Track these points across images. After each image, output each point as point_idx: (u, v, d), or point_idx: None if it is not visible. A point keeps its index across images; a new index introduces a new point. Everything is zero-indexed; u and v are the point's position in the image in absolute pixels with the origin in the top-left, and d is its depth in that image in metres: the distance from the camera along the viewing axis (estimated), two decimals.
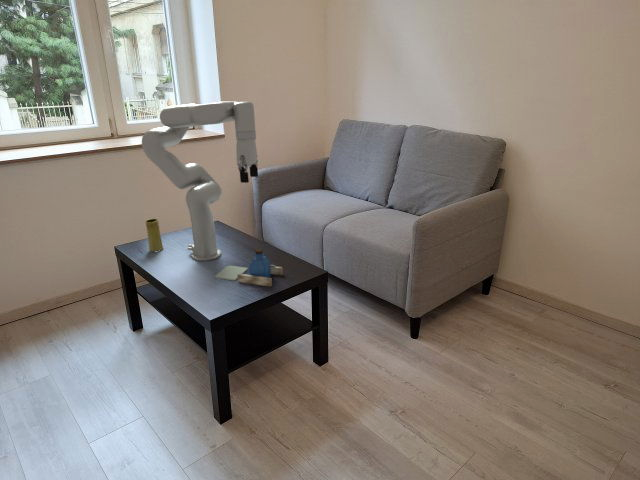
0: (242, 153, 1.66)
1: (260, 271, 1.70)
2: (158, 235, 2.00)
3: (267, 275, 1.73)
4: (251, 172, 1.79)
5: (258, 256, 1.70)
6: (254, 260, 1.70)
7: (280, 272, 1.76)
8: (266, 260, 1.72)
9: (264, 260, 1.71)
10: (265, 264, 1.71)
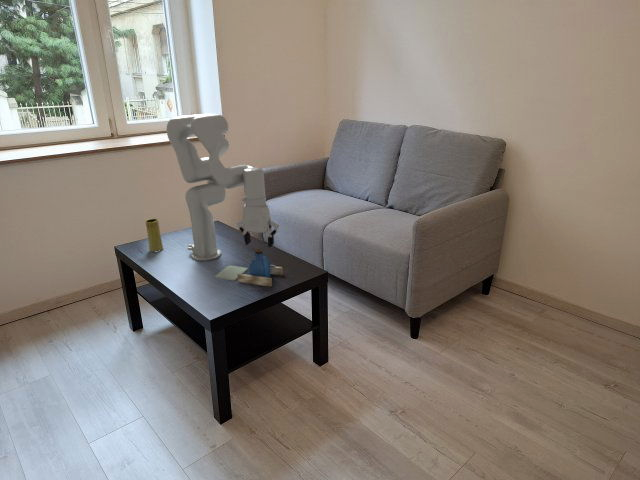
0: (269, 217, 1.64)
1: (260, 271, 1.70)
2: (158, 235, 2.00)
3: (267, 275, 1.73)
4: (247, 240, 1.69)
5: (258, 256, 1.70)
6: (254, 260, 1.70)
7: (280, 272, 1.76)
8: (266, 260, 1.72)
9: (264, 260, 1.71)
10: (265, 264, 1.71)
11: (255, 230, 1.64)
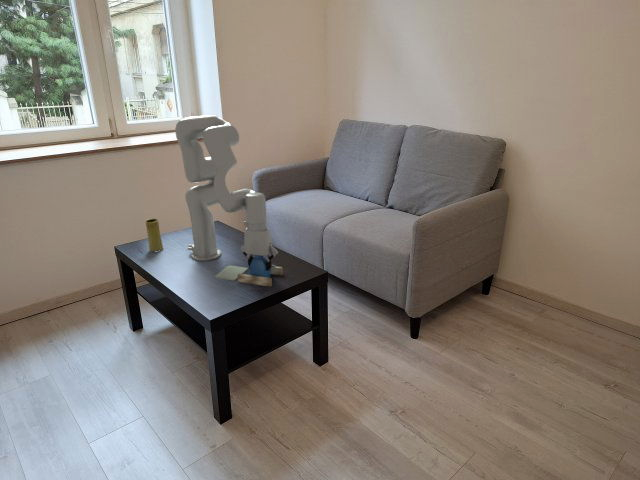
0: (270, 242, 1.68)
1: (260, 271, 1.70)
2: (158, 235, 2.00)
3: (267, 275, 1.73)
4: None
5: (258, 256, 1.70)
6: (254, 260, 1.70)
7: (280, 272, 1.76)
8: (266, 260, 1.72)
9: (264, 260, 1.71)
10: (265, 264, 1.71)
11: (256, 253, 1.68)
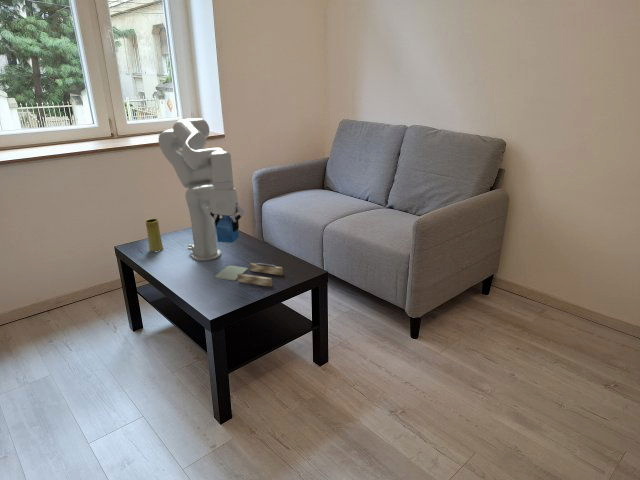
0: (237, 202, 1.66)
1: (227, 232, 1.69)
2: (158, 235, 2.00)
3: (234, 236, 1.72)
4: None
5: (225, 216, 1.68)
6: (221, 220, 1.69)
7: (280, 272, 1.76)
8: None
9: (231, 221, 1.69)
10: None
11: (222, 213, 1.67)
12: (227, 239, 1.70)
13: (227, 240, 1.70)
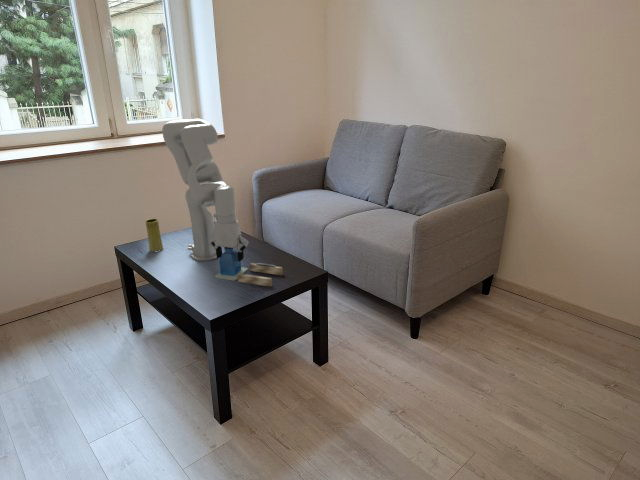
0: (239, 233, 1.71)
1: (229, 265, 1.74)
2: (158, 235, 2.00)
3: (237, 269, 1.77)
4: (219, 254, 1.76)
5: (227, 250, 1.74)
6: (223, 254, 1.74)
7: (280, 272, 1.76)
8: (235, 255, 1.76)
9: (233, 254, 1.75)
10: (235, 259, 1.74)
11: (225, 245, 1.71)
12: (229, 272, 1.75)
13: (229, 273, 1.75)
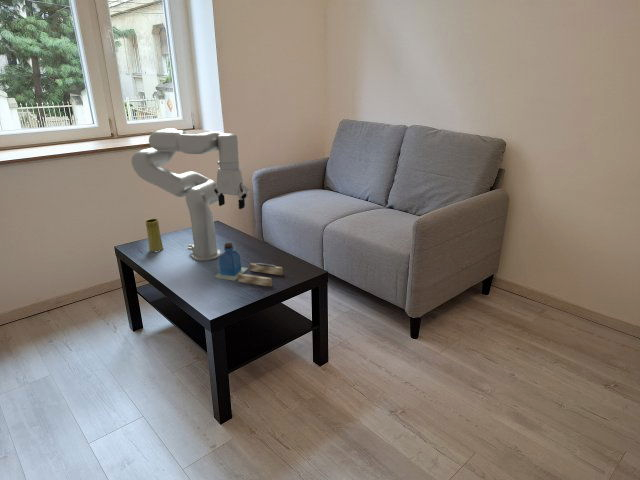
0: (240, 181, 1.76)
1: (229, 265, 1.74)
2: (158, 235, 2.00)
3: (237, 269, 1.77)
4: (221, 201, 1.82)
5: (227, 250, 1.74)
6: (223, 254, 1.74)
7: (280, 272, 1.76)
8: (235, 255, 1.76)
9: (233, 254, 1.75)
10: (235, 259, 1.74)
11: (227, 192, 1.77)
12: (229, 272, 1.75)
13: (229, 273, 1.75)
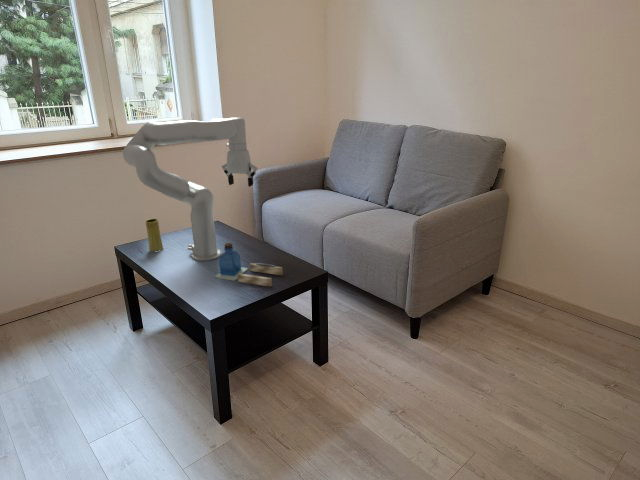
0: (249, 160, 1.93)
1: (229, 265, 1.74)
2: (158, 235, 2.00)
3: (237, 269, 1.77)
4: (231, 181, 1.99)
5: (227, 250, 1.74)
6: (223, 254, 1.74)
7: (280, 272, 1.76)
8: (235, 255, 1.76)
9: (233, 254, 1.75)
10: (235, 259, 1.74)
11: (237, 171, 1.94)
12: (229, 272, 1.75)
13: (229, 273, 1.75)
